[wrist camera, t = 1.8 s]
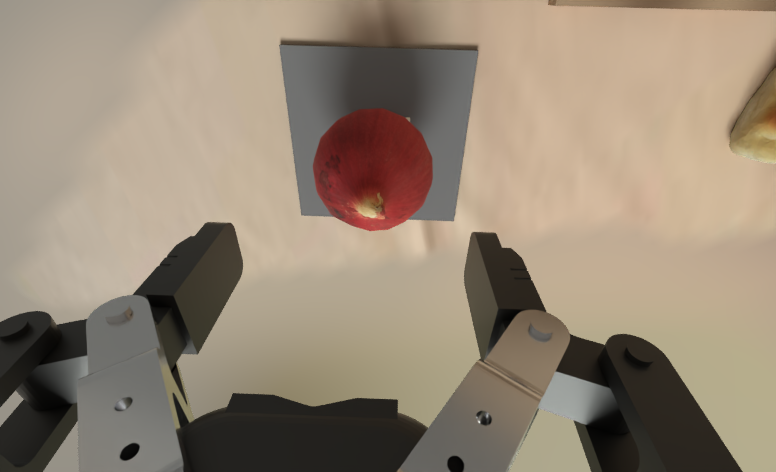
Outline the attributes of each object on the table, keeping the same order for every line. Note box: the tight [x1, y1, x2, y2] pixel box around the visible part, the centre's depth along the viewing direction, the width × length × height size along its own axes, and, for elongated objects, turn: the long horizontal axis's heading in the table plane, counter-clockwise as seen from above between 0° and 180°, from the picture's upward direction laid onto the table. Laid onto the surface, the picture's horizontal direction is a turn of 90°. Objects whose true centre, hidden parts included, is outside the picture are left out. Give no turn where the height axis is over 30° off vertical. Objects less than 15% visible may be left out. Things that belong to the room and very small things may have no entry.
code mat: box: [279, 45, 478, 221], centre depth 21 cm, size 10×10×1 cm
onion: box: [313, 108, 433, 231], centre depth 18 cm, size 6×6×8 cm
